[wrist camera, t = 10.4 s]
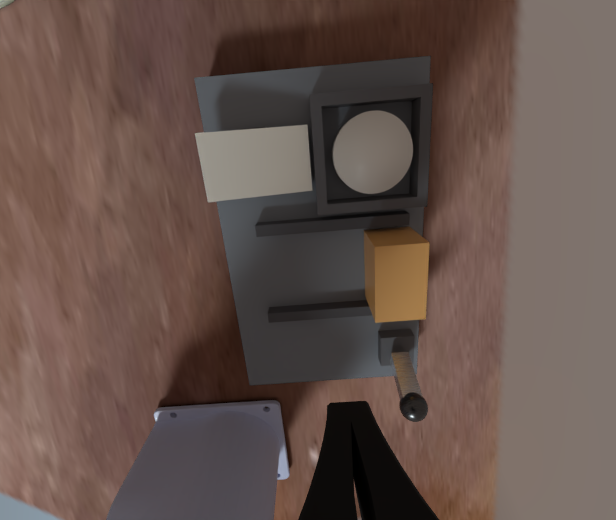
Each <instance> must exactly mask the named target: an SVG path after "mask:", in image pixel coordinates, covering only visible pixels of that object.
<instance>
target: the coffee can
mask: <svg viewBox="0 0 616 520" xmlns="http://www.w3.org/2000/svg"><path fill="white" fill-rule="evenodd" d="M14 1H15V0H0V9H1V8H3V7H5V6H7V5H9V4H11V3H12V2H14Z"/></svg>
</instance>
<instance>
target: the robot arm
mask: <svg viewBox="0 0 616 520" xmlns="http://www.w3.org/2000/svg"><path fill="white" fill-rule="evenodd" d="M265 407H269V408H265ZM174 413H176V414H174ZM154 418H155V421H156V423H155V425H154V427H153V429H152V431H151V432H150V434H149V436H148V438H147V440H146V442H145V444H144V445H143V447H142V449H141V451H140V453H139V455H138V456H137V458H136V460H135V462H134V464H133V466H132V467H131V469H130V471H129V473H128V475H127V477H126V478H125V480H124V482H123V484H122V486H121V488H120V489H119V491H118V493H117V495H116V497H115V499H114V501H113V503H112V505H111V508H110V510H109V513H108V516H107V519H106V520H274V510H275V499H276V488H277V480H279V479H286V478H288V477H289V473H290V470H289V463H288V456H287V449H286V442H285V435H284V428H283V421H282V414H281V407H280V403H279V402H278V401H276V400H265V401H250V402H235V403H220V404H204V405H189V406H174V407H160V408H157V409H156V411H155V413H154ZM353 477H354V478H353ZM354 483H355V488H356V493H357V498H358V503H359V508H360V513H361V518H362V520H439V519H438V518H437V516H436V515H435V514H434V512H433V511H432V510H431V508H430V507H429V506H428V504H427V503H426V501H425V500H424V499H423V497H422V496H421V495H420V493H419V492H418V490H417V489H416V487H415V486H414V484H413V483H412V481H411V480H410V478H409V477H408V475H407V474H406V472H405V471H404V469H403V468H402V466H401V465H400V463H399V461H398V460H397V458H396V456H395V455H394V453H393V451H392V450H391V448H390V446H389V445H388V443H387V441H386V439H385V438H384V436H383V434H382V432H381V430H380V428H379V426H378V424H377V422H376V420H375V418H374V416H373V414H372V411H371V409H370V406H369V404H368V403H367V402H366V401H356V402H338V403H330V404H329V405H328V406H327V421H326V428H325V433H324V438H323V443H322V447H321V451H320V455H319V459H318V463H317V466H316V469H315V473H314V476H313V479H312V482H311V486H310V489H309V492H308V495H307V497H306V500H305V503H304V506H303V509H302V511H301V514H300V516H299V519H298V520H357V513H356V505H355V498H354Z"/></svg>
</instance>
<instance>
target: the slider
mask: <svg viewBox="0 0 616 520" xmlns="http://www.w3.org/2000/svg"><path fill="white" fill-rule="evenodd" d="M429 244H430V243H429V242H428V241H427V240H426V239H424V238H423V237H422V236H421V235H419V234H418V233H417V232H416V231H414V230H413V229H412V228H411V227H399V228H386V229H373V230H364V265H365V297H366V299H367V302H368V305H369V307H370V310H371V313H372V315H373V318H374V320H375V323H380V322H394V321H408V320H421V319H426V302H427V283H428V263H429Z"/></svg>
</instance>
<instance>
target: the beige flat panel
mask: <svg viewBox="0 0 616 520" xmlns="http://www.w3.org/2000/svg"><path fill="white" fill-rule="evenodd" d="M195 137H196V142H197V147H198V153H199V158H200V163H201V168H202V174H203V179H204V184H205V189H206V195H207V200H208V202H216V201H225V200H233V199H242V198H251V197H260V196H269V195H278V194H287V193H296V192H304V191H312V179H311V166H310V153H309V140H308V126H307V125H296V126H283V127H270V128H257V129H244V130H231V131H218V132H205V133H195Z"/></svg>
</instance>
